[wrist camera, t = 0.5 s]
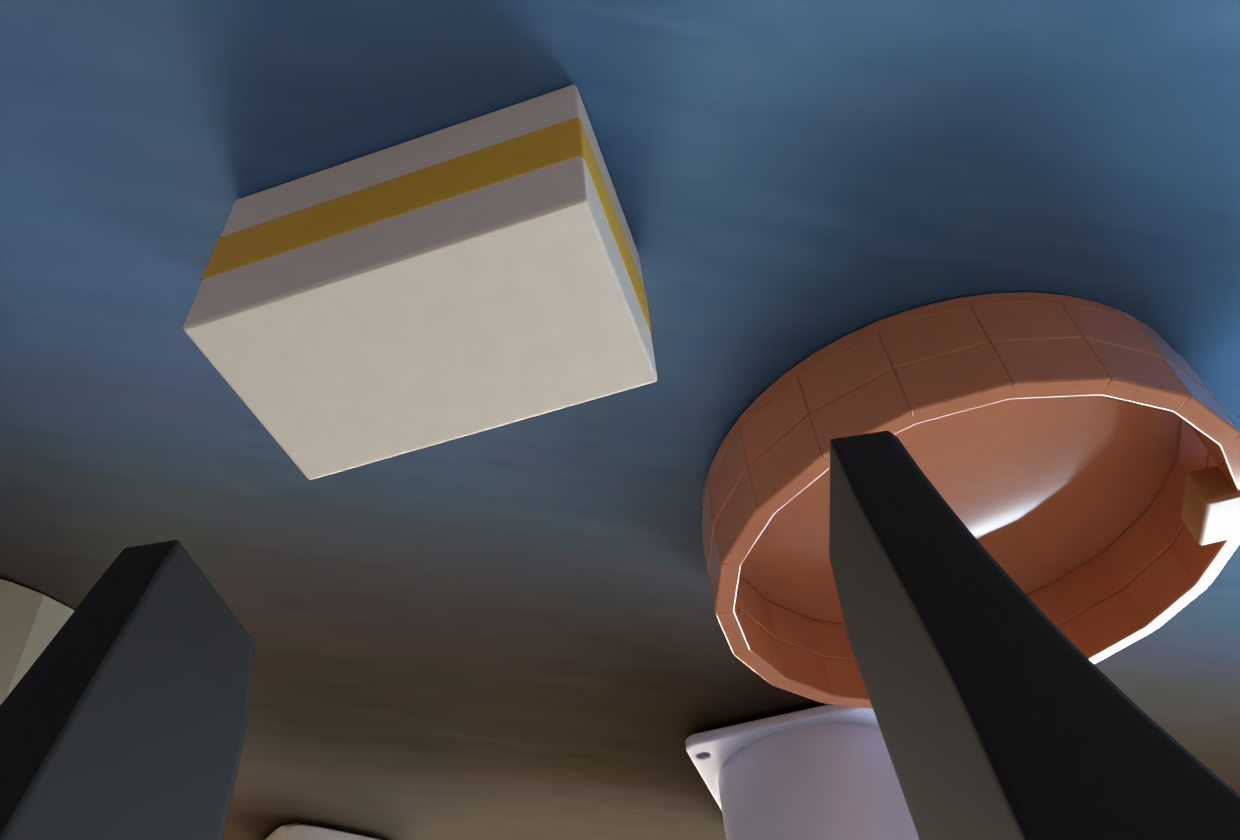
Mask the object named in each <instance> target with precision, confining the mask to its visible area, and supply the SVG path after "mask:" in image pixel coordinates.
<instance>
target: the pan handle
mask: <svg viewBox="0 0 1240 840" xmlns="http://www.w3.org/2000/svg"><path fill="white" fill-rule="evenodd" d="M1181 518H1182V519H1183V521H1184V522H1185V524H1186V525H1187V527H1188V529H1189V530H1190V532H1191V533H1192V535H1193V536H1194V538H1195V539H1196V541H1197V543H1198V544H1199V545H1206V544H1211V543H1215V542H1219V541H1224V540H1228V539H1232V538H1237V537H1240V492H1238V491H1236V490H1235V489H1234V488H1233V486H1232V485H1231V483H1230V482H1229V481H1228V479H1227V478H1226V476H1225V475H1224V474H1223V472H1222V471H1221V469H1220V468H1219V467H1218V466H1214V467H1210V468H1206V469H1202V470H1198V471H1194V472H1190V473H1189V474H1188V475H1187V481H1186V487H1185V494H1184V500H1183V506H1182V513H1181Z"/></svg>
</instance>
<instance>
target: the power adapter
mask: <svg viewBox="0 0 1240 840" xmlns="http://www.w3.org/2000/svg"><path fill="white" fill-rule="evenodd" d="M265 840H382V839H377V838H373V837H368V836H364V835H359V834H354V833H349V832H344V831H339V830H334V829H329V828H324V827H318V826H313V825H305V824H298V823H294V824H289V825H283V826H281V827H279V828H278V829H276V830H275V831H274V832H273V833H272V834H270V835H269V836H268V837H267V838H266V839H265Z"/></svg>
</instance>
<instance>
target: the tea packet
mask: <svg viewBox="0 0 1240 840" xmlns="http://www.w3.org/2000/svg"><path fill="white" fill-rule="evenodd" d="M183 327H184V331H185V332H186V333H187V334H188V335H189V337H190V338H191V339H192V340H193V341H194V343H195V344H196V345H197V346H198V347H199V349H200V350H201V351H202V352H203V353H204V355H205V356H206V357H207V358H208V359H209V361H210V362H211V363H212V364H213V365H214V367H215V368H216V369H217V370H218V371H219V373H220V374H221V375H222V376H223V377H224V379H225V380H226V381H227V382H228V383H229V385H230V386H231V387H232V388H233V389H234V391H235V392H236V393H237V394H238V395H239V397H240V398H241V399H242V400H243V401H244V403H245V404H246V405H247V406H248V407H249V409H250V410H251V411H252V412H253V413H254V415H255V416H256V417H257V418H258V419H259V421H260V422H261V423H262V424H263V425H264V427H265V428H266V429H267V430H268V431H269V433H270V434H271V435H272V436H273V437H274V439H275V440H276V441H277V442H278V443H279V445H280V446H281V447H282V448H283V449H284V451H285V452H286V453H287V454H288V455H289V457H290V458H291V459H292V460H293V461H294V463H295V464H296V465H297V466H298V467H299V469H300V470H301V471H302V472H303V473H304V475H305V476H306V477H307V478H308V479H309V480H313V479H316V478H320V477H323V476H327V475H330V474H334V473H337V472H341V471H344V470H348V469H351V468H355V467H358V466H362V465H365V464H369V463H372V462H376V461H379V460H383V459H386V458H390V457H393V456H397V455H400V454H404V453H407V452H411V451H414V450H418V449H421V448H425V447H428V446H432V445H435V444H439V443H443V442H446V441H450V440H453V439H457V438H460V437H464V436H467V435H471V434H474V433H478V432H481V431H485V430H488V429H492V428H495V427H499V426H502V425H506V424H509V423H513V422H516V421H520V420H523V419H527V418H530V417H534V416H537V415H541V414H544V413H548V412H551V411H555V410H558V409H562V408H565V407H569V406H572V405H576V404H579V403H583V402H586V401H590V400H593V399H597V398H600V397H604V396H608V395H611V394H615V393H618V392H622V391H625V390H629V389H632V388H636V387H639V386H643V385H646V384H650V383H653V382H655V381H657V372H656V365H655V358H654V352H653V345H652V338H651V325H650V318H649V311H648V305H647V298H646V292H645V289H644V285H643V279H642V272H641V266H640V259H639V254H638V251H637V248H636V246H635V243H634V240H633V238H632V235H631V232H630V229H629V227H628V224H627V221H626V218H625V216H624V213H623V210H622V208H621V205H620V202H619V199H618V197H617V194H616V191H615V189H614V186H613V183H612V180H611V178H610V175H609V172H608V170H607V167H606V164H605V161H604V159H603V156H602V153H601V151H600V148H599V145H598V142H597V140H596V137H595V134H594V132H593V129H592V126H591V123H590V121H589V118H588V115H587V113H586V110H585V107H584V104H583V102H582V99H581V96H580V93H579V91H578V88H577V87H576V86H575V85H570V86H568V87H565V88H562V89H559V90H556V91H553V92H550V93H547V94H544V95H541V96H538V97H535V98H533V99H530V100H527V101H524V102H521V103H518V104H515V105H512V106H509V107H506V108H503V109H500V110H498V111H495V112H492V113H489V114H486V115H483V116H480V117H477V118H474V119H471V120H468V121H465V122H462V123H460V124H457V125H454V126H451V127H448V128H445V129H442V130H439V131H436V132H433V133H430V134H427V135H425V136H422V137H419V138H416V139H413V140H410V141H407V142H404V143H401V144H398V145H395V146H392V147H389V148H387V149H384V150H381V151H378V152H375V153H372V154H369V155H366V156H363V157H360V158H357V159H354V160H352V161H349V162H346V163H343V164H340V165H337V166H334V167H331V168H328V169H325V170H322V171H319V172H316V173H314V174H311V175H308V176H305V177H302V178H299V179H296V180H293V181H290V182H287V183H284V184H281V185H279V186H276V187H273V188H270V189H267V190H264V191H261V192H258V193H255V194H252V195H249V196H246V197H244V198H241V199H238V200H236V201H235V202H234V204H233V207H232V209H231V212H230V214H229V217H228V219H227V222H226V224H225V226H224V229H223V231H222V234H221V236H220V238H219V239H218V240H217V242H216V245H215V247H214V250H213V252H212V254H211V257H210V259H209V262H208V264H207V267H206V269H205V271H204V274H203V276H202V282H201V285H200V287H199V290H198V292H197V295H196V297H195V299H194V302H193V304H192V307H191V309H190V312H189V314H188V316H187V319H186V321H185V324H184V326H183Z"/></svg>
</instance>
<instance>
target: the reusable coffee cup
mask: <svg viewBox="0 0 1240 840" xmlns="http://www.w3.org/2000/svg"><path fill="white" fill-rule="evenodd" d="M73 612H74V610H72V609H71V608H69V607H67V606H65V605H63V604H61V603H59V602H57V601H55V600H53V599H51V598H49V597H48V596H46V595H44V594H41V593H38V592H36V591H33V590H31V589H28V588H25V587H23V586H20V585H18V584H15V583H13V582H9V581H6V580H2V579H0V705H1V704H2V703H3V701H4V700H5V699H6V698H7V696H8V695H9V694H10V693H11V691H12V690H13V689H14V688H15V686H16V685H17V684H18V682H19V681H20V680H21V679H22V677H23V676H24V675H25V674H26V672H27V671H28V670H29V669H30V667H31V666H32V665H33V664H34V662H35V661H36V660H37V659H38V657H39V656H40V655H41V653H42V652H43V651H44V650H45V648H46V647H47V646H48V644H49V643H50V642H51V641H52V639H53V638H54V637H55V635H56V634H57V633H58V632H59V630H60V629H61V628H62V626H63V625H64V624H65V623H66V621H67V620H68V619H69V617H70V616H71V615H72V613H73Z"/></svg>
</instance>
